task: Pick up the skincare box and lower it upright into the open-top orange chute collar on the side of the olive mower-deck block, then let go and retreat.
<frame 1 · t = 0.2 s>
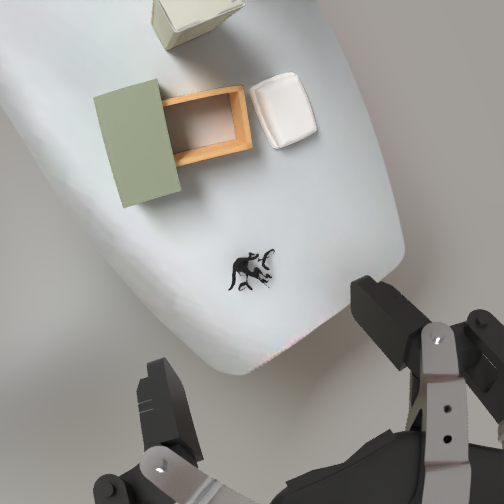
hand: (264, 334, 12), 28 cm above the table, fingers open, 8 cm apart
creature: (250, 265, 46), on the table
skincare box: (181, 26, 28), on the table
soap: (281, 109, 37), on the table
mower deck: (199, 122, 34), on the table
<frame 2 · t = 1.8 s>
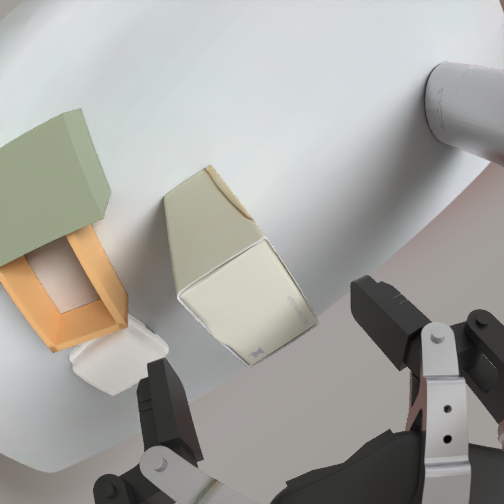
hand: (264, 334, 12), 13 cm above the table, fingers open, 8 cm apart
skincare box: (205, 210, 24), on the table
soap: (117, 348, 28), on the table
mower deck: (65, 265, 22), on the table
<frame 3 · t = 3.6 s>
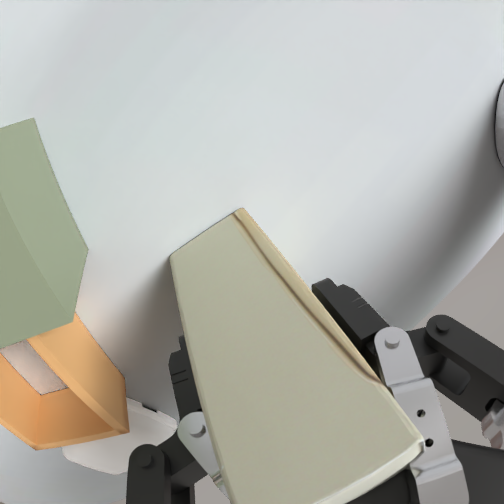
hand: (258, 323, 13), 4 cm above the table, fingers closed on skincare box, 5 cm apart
skincare box: (231, 271, 16), on the table, touching gripper
soap: (113, 424, 20), on the table
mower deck: (36, 345, 14), on the table
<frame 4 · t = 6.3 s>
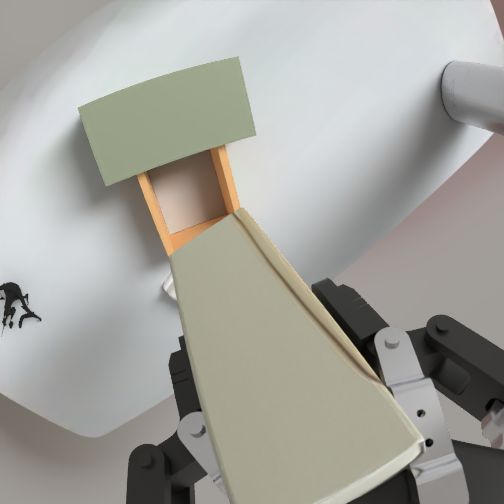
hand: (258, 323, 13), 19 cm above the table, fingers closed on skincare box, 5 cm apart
creature: (14, 298, 27), on the table
skincare box: (231, 271, 16), point 15 cm above the table, touching gripper
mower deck: (186, 187, 29), on the table
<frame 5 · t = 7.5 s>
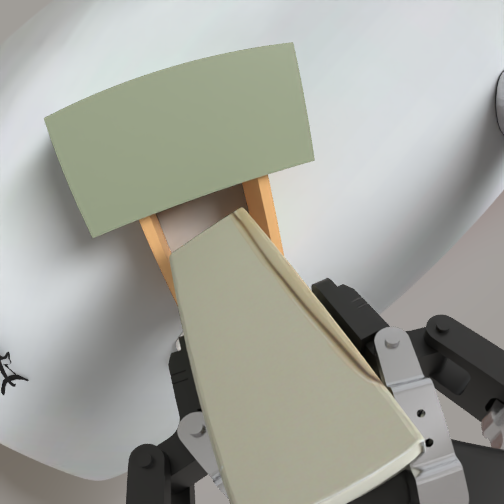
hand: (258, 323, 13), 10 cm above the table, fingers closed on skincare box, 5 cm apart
skincare box: (231, 271, 16), point 6 cm above the table, touching gripper
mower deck: (207, 224, 21), on the table
when the fingers open (7 cm above the table, at t = 8.9 s): skincare box drops 3 cm, resting in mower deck.
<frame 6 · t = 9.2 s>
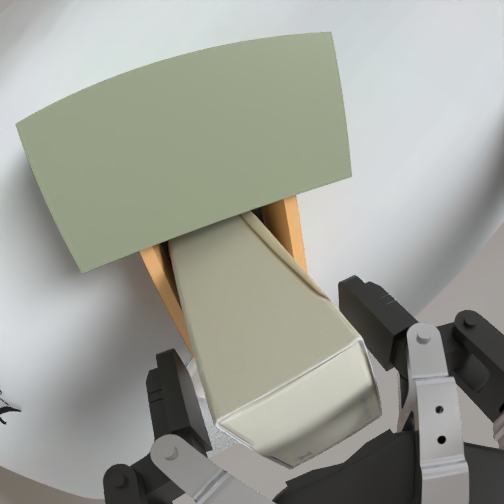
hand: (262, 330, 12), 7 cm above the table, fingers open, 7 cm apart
skincare box: (217, 245, 19), resting in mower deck
soap: (239, 348, 24), on the table
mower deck: (218, 246, 18), on the table
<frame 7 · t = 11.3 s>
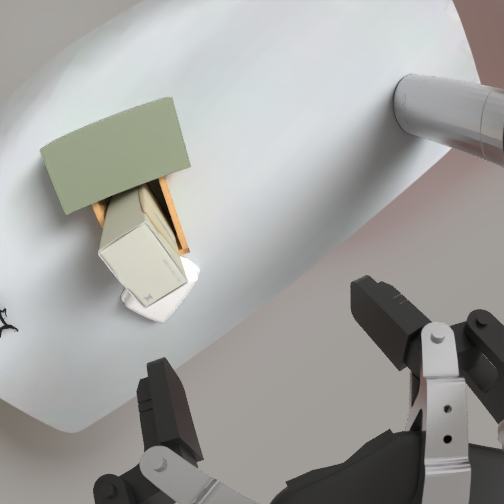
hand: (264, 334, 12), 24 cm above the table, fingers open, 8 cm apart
skincare box: (138, 209, 32), resting in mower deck
soap: (158, 280, 37), on the table
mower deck: (139, 210, 32), on the table
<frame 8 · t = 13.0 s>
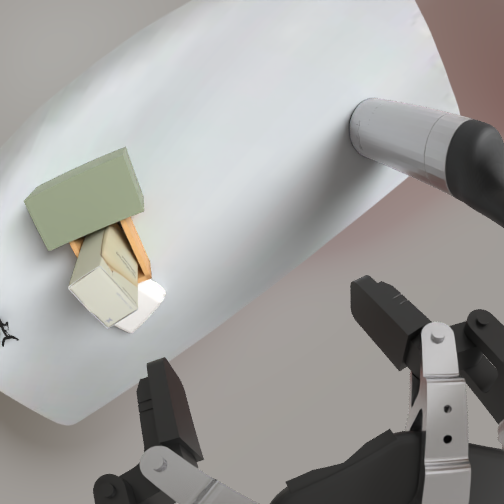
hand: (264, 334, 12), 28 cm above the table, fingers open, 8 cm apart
skincare box: (111, 241, 37), resting in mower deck
soap: (131, 297, 42), on the table
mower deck: (111, 242, 37), on the table
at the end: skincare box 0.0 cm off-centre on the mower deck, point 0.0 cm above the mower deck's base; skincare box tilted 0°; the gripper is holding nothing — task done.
